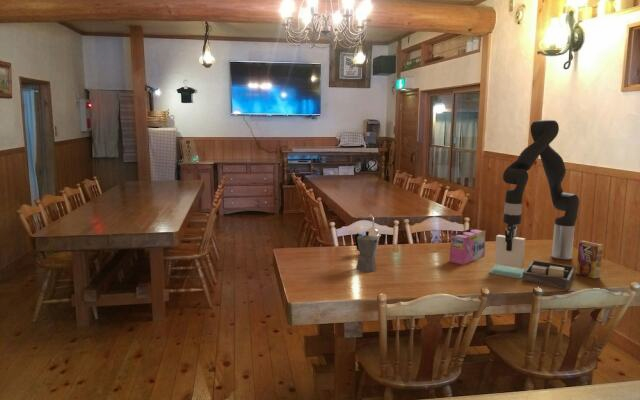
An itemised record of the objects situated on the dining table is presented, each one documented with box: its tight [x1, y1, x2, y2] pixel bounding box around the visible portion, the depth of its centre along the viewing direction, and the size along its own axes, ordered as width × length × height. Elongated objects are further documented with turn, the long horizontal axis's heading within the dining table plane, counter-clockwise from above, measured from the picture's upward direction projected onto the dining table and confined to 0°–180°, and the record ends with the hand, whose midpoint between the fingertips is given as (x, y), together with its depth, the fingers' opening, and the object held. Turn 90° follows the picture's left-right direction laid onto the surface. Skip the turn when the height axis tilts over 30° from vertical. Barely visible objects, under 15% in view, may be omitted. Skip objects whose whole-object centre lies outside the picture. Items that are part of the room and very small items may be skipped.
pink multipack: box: [449, 227, 486, 265], centre depth 245 cm, size 24×8×14 cm, turn 136°
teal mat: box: [488, 264, 526, 280], centre depth 224 cm, size 14×14×1 cm
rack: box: [521, 259, 575, 290], centre depth 214 cm, size 19×18×5 cm
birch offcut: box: [548, 266, 564, 278], centre depth 209 cm, size 4×6×7 cm
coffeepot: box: [354, 230, 377, 273], centre depth 226 cm, size 15×9×18 cm, turn 33°
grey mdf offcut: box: [531, 265, 547, 275], centre depth 212 cm, size 4×6×6 cm
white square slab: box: [493, 234, 526, 269], centre depth 222 cm, size 4×12×13 cm, turn 57°
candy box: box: [575, 240, 604, 279], centre depth 219 cm, size 9×4×15 cm, turn 29°
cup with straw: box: [364, 213, 382, 256], centre depth 251 cm, size 8×9×20 cm
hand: (509, 249), depth 222 cm, fingers closed on white square slab, 3 cm apart
